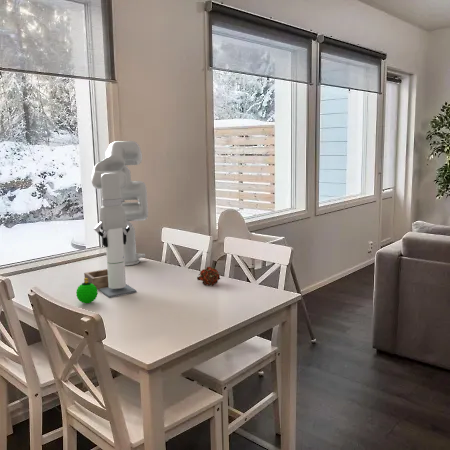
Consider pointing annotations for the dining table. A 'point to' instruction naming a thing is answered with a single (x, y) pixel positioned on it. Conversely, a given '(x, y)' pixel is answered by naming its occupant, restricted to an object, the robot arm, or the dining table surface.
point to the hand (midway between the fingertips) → (114, 244)
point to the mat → (117, 291)
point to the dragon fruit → (209, 276)
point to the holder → (98, 278)
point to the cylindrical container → (115, 258)
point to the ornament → (86, 292)
